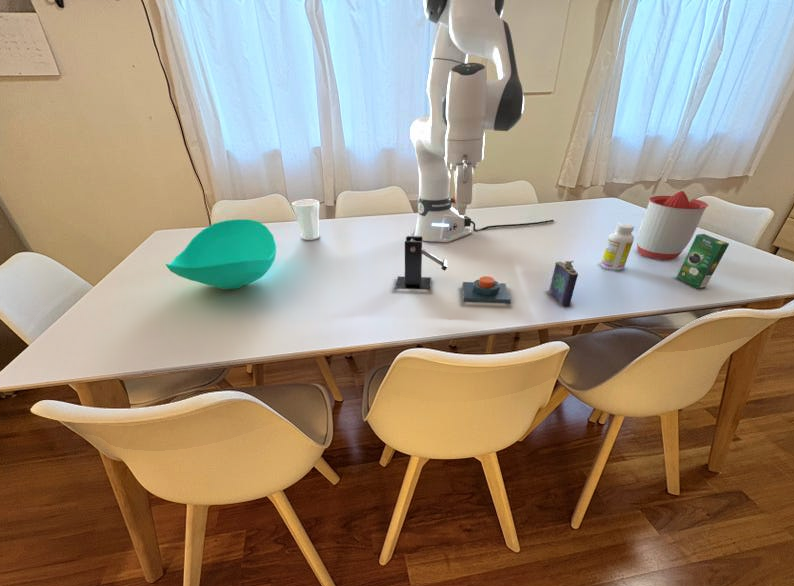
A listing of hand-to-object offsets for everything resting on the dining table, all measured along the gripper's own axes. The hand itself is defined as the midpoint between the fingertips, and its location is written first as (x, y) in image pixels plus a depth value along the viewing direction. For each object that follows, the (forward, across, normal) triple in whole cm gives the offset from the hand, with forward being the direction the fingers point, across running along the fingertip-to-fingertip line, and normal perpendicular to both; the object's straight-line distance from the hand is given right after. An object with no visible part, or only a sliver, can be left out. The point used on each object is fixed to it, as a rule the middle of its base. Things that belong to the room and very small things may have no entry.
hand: (461, 213), depth 95 cm
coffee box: (+24, +7, -67) cm, 71 cm away
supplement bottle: (+23, +18, -49) cm, 57 cm away
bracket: (+20, -1, +13) cm, 24 cm away
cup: (+20, +39, +56) cm, 71 cm away
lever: (+12, 0, +9) cm, 15 cm away
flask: (+22, -6, -27) cm, 35 cm away
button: (+17, -6, -7) cm, 20 cm away
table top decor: (+18, -3, +66) cm, 69 cm away
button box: (+21, -6, -7) cm, 23 cm away
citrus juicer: (+24, +31, -68) cm, 79 cm away
